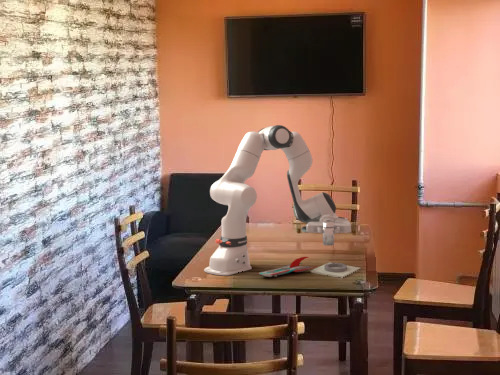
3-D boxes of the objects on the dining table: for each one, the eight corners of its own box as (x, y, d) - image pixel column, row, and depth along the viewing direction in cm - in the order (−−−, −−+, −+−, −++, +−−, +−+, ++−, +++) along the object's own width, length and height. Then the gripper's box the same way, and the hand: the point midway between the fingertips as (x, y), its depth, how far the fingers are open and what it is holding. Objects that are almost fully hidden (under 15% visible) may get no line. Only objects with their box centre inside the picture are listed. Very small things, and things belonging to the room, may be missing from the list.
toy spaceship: (270, 285, 305) (268, 273, 304) (253, 281, 314) (251, 269, 313) (317, 268, 322) (315, 256, 321) (300, 264, 331) (298, 253, 330)
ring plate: (342, 278, 310) (342, 273, 310) (310, 272, 320) (310, 267, 319) (360, 269, 323) (360, 264, 322) (329, 264, 332) (329, 259, 332)
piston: (330, 246, 321) (330, 224, 319) (320, 244, 324) (320, 222, 322) (336, 243, 325) (336, 221, 323) (326, 242, 328) (326, 220, 326)
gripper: (306, 217, 337) (305, 224, 323) (350, 217, 334) (351, 224, 321) (306, 230, 338) (305, 238, 324) (350, 231, 336) (351, 238, 322)
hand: (328, 231), depth 323 cm, fingers closed on piston, 5 cm apart
